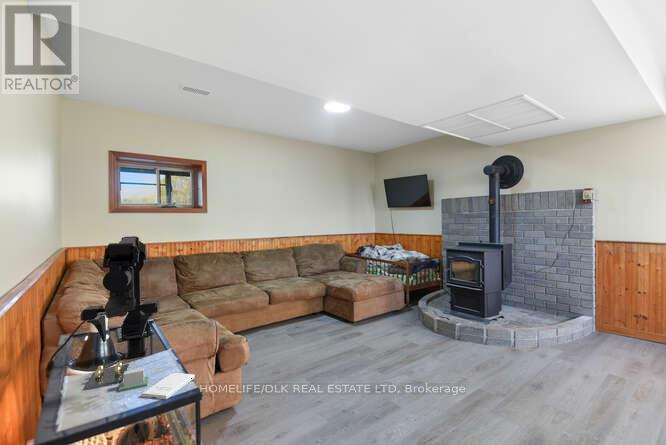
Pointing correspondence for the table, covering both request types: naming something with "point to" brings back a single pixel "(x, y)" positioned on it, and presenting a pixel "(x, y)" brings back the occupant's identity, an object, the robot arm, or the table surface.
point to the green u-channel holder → (133, 380)
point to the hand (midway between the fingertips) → (123, 339)
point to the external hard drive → (168, 386)
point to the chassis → (107, 376)
